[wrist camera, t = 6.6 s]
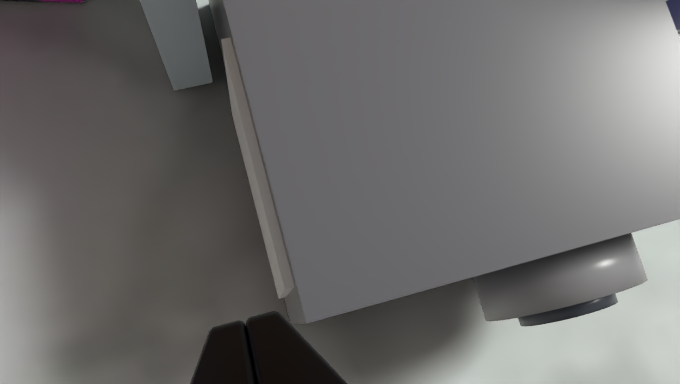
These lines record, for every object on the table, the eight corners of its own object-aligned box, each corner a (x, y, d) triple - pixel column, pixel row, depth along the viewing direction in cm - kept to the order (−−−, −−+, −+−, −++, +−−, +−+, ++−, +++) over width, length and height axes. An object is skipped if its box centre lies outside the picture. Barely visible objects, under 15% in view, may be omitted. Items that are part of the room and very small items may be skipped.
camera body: (596, 289, 20) (793, 269, 12) (297, 378, 18) (320, 415, 11) (482, -48, 22) (594, -237, 14) (202, 4, 20) (169, -179, 13)
